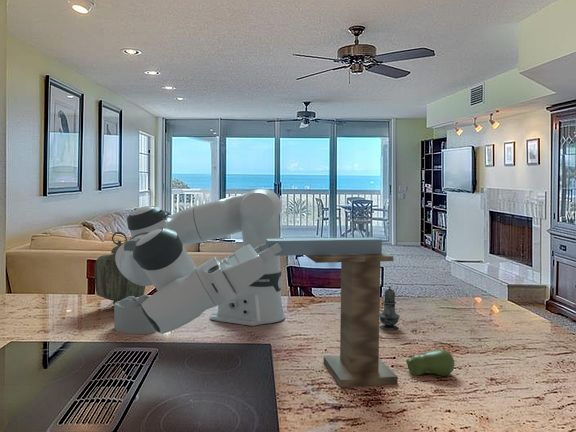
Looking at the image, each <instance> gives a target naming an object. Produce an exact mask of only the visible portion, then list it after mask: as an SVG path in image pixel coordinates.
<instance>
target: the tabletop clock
mask: <svg viewBox="0 0 576 432" xmlns="http://www.w3.org/2000/svg"><path fill="white" fill-rule="evenodd" d="M116 235H121V236H123V237H124V238H125V240H124V242H122V241H121V240H118V241H117V242H116V241H115V239H114V237H115V236H116ZM111 240H112V242H113V244H114V245H117V246H114V247H113V248H112V250H111V252H110V254H104V255H101V256H99V257H98V258H96V260H95V263H94V287H95V293H96V295H97V296H98V297H100V298H103V299H106V300H109V301H112V304H113V306H112V307H111V310H112V311H113V312H114V304H115V303H116V302H117V301H120V300H122V299H125V298H127V297H129V296H134V297H135V298H138V297H140V296H142V295H145V291H146V286H140V285H137V284H134V283H133V282H131V281H129V280H128V279H127V278H125V277H124V276H123V275H122V274H121V272H120V271H119V269H118V267H117V265H116V262H115V255H116V252H117V250H118V248H119V247H120V246H121V245H122V244H124V243H125V242H127V241H128V238H127V235H126V234H125V233H124V232H122V231H115V232H114V233H112V236H111Z"/></svg>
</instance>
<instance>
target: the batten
mask: <svg viewBox="0 0 576 432" xmlns="http://www.w3.org/2000/svg"><path fill="white" fill-rule="evenodd" d="M274 243H278V244H279V245H280V247H281V249H282V250H281V251H280V252H279V253H277V254H276V255H274V256H280V257H281V256H283V257H284V256H305V255H339V254H382V252H383V248H382V247H383V239H381V238H378V237H317V238H316V237H315V238H313V237H309V238H307V237H306V238H304V237H303V238H301V237H297V238H279V239H266V249H267V248H269V247H270V246H271V245H273V244H274Z"/></svg>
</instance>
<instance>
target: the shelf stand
mask: <svg viewBox="0 0 576 432" xmlns="http://www.w3.org/2000/svg"><path fill="white" fill-rule="evenodd" d="M304 256H305V257H307V258H308V259H310V260H311V261H313V263H316V264H322V263H324V264H325V263H327V264H329V263H340V265H341V266H340V267H341V268H340V271H341V272H340V329H339V330H340V332H339V333H340V339H339V340H340V341H339V343H340V344H339V347H340V348H339V349H340V350H339V351H340V352H339V353H340V354H339V355H328V356H327V355H325V356H323V365H324V366H325V367H326V368H327V370H328V371H329V373H330V374H331V376H332V378H333V379H334V380H335V381H336V383H337V384H338V386H339V387H340V388H351V387H353V388H354V387H367V386H368V387H369V386H384V385H396V384H398V382H399V381H398V379H399V378H398V375H397V374H396V373H395V372H393V370H392V369H391V368H390V367H389V366H387V364H385V363H384V362H383V361H382V359H380V358H379V355H380V354H379V353H380V352H379V351H380V317H379V314H380V310H381V309H380V305H381V304H380V303H381V302H380V299H381V297H380V296H381V262H394V256H393V255H392V254H389V253H386V252H383V251H382V254H339V255H304Z"/></svg>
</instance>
